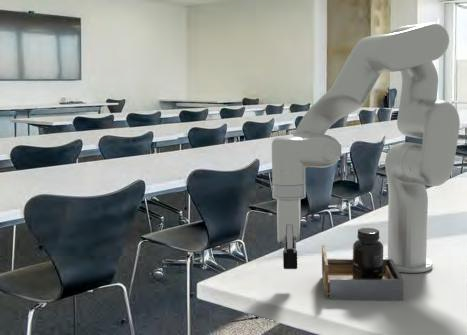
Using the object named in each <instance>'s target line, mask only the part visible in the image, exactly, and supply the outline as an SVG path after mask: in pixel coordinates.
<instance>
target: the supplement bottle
mask: <svg viewBox="0 0 467 335" xmlns="http://www.w3.org/2000/svg"><path fill="white" fill-rule="evenodd" d="M356 237H357V240H355V241H354V243H353V244H352V259H353V278H357V279H383V257H384V244H383V243H382V242H381V241H380V230H379V229H377V228H374V227H373V228H372V227H361V228H358V229H357V236H356Z"/></svg>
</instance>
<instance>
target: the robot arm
mask: <svg viewBox="0 0 467 335" xmlns="http://www.w3.org/2000/svg"><path fill="white" fill-rule="evenodd" d="M449 43H450V36H449V33H448V31H447V30H446V28H445V27H444V26H443V25H441V24H440V23H436V22H427V23H425V22H424V23H419V24H411V25H405V26H404V25H403V26H400V27H399V26H398V27H397V28H394V29H392V30H390V31H389V33H386V34H379V35H371V36H366V37H365V36H364V37H363V38H361V39H360V40H358V41H357V43H356V44H355V45H354V47H353V48H352V50H351V52H350V54H349V55H348V57H347V59H346V60H345V63H344V64H343V66H342V68H341V70H340V72H339V74H338V75H337V77H336V79H335V80H334V82H333V84H332V86H331V87H330V88H329V89H328V91H327V92H325V93H324V94H323V95H322V96H321V97H320V98H319V99H318V100H317V101H316V102H315V103H314V104H313V105H312V106H311V107H310V108H309V109H308V110H307V111H306V113H305V114H304V115H303V117H302V118H301V120H300V121H299V124H298V125H297V127H296V129H295V131H294V132H293V134H292V136H291V135H287V136H285V135H283V136H279V137H278V136H277V137H275V138H274V139H273V140H272V142H271V169H272V170H271V173H272V174H271V177H272V178H271V179H272V181H271V182H272V199H274V200H276V226H277V227H276V228H277V232H276V234H277V242H278V243H279V244H280V243H281V242H283V252H282V255H283V256H282V259H283V262H282V263H283V269H284V270H297V269H298V250H297V243H299V241H300V230H301V200H303V199H305V198H306V197H307V195H306V192H307V191H306V190H307V189H306V168H322V169H324V168H329V167H332V166H333V165H335V164H336V163H338V161H339V160H340V158H341V155H342V146H341V144H340V142H339V141H338V140H337V139H336V138H335V137H333V136H331V135H328V134H326V133H327V131H329V129H330V128H331V127H332V125H334V124H336V123H337V121H339V120H340V119H342V118H345V117H346V116H348V115H350V114H353V113H354V112H356V111H358V110H359V109H361V108H362V107H363V106H364V105H365V103H366V101H367V99H368V98H369V95H370V94H371V92H372V91H373V89H374V86H375V85H376V83H377V81H378V80H379V78H380V76H381V74H383V73H395V72H400V74H401V78H402V79H401V81H402V82H401V92H400V97H399V98H400V100H399V106H398V112H397V122H396V123H397V124H396V125H397V129H398V131H399V132H400V133H401V134H402V135H403V136H406V137H409V138H415V139H421V140H422V144H421V143H415V142H399V143H396V144H394V145H393V146H391V147H390V149H389V150H388V151H387V152H386V155H385V161H384V166H385V167H384V168H385V173H386V179H387V186H388V187H387V188H388V189H387V190H388V204H387V206H388V212H387V216H388V217H387V218H388V219H387V255H386V256H383V259H392V260H393V262H394V264H395V265H396V267H397V269H398V271H399V273H404V274H408V273H409V274H418V273H419V274H420V273H424V272H428V271H430V270H432V268H433V261H432V260H431V259H429V258H427V249H428V247H427V245H428V244H427V243H428V241H427V240H428V208H429V207H428V206H429V198H428V192H427V188H426V186H427V187H428V186H429V187H439V186H442V185H443V184H445V183H446V182H447V181H448V180H449V179H450V177H451V175H452V172H453V169H454V165H455V160H456V159H455V158H456V154H457V146H458V141H459V134H460V125H461V124H460V123H461V122H460V116H459V112H458V110H457V108H456V107H455V106H454V104H452V103H451V102H449V101H446V100H443V99H442V100H441V99H437V98H438V90H439V74H438V70H437V68H436V66H435V64H434V62H433V61H436V60H438V59H440V58H441V57H442V56H443V55H445V53H446V51H447V49H448V47H449Z"/></svg>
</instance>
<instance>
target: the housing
mask: <svg viewBox="0 0 467 335" xmlns="http://www.w3.org/2000/svg"><path fill="white" fill-rule="evenodd" d="M327 261H328V264H339V265H353V258H327ZM383 265H387V266H388V268H389V270H390V272H391V274H392V275H393V277H394V279H357V278H329V294H328V298H329V300H331V301H332V300H333V301H334V300H338V301H339V300H341V301H345V300H346V301H399V302H400V301H402V302H403V301H404V288H405V285H404V284H405V283H404V282H405V280H404V279H403V276H402V274H401V272H399V271H398V269H397V267H396V265H395V264H394V262H393V260H392V259H383Z"/></svg>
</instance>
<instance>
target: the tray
mask: <svg viewBox="0 0 467 335" xmlns="http://www.w3.org/2000/svg"><path fill="white" fill-rule="evenodd" d="M325 246H326V245H321V275H322V282H323V290H324V294H325V296H327V297H329V278H353V265H339V264H328V261H327V259H328V256H327V252H326V248H325ZM383 279H394V277H393V275H392V274H391V272H390V270H389V268H388V266H387V265H383Z"/></svg>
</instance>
